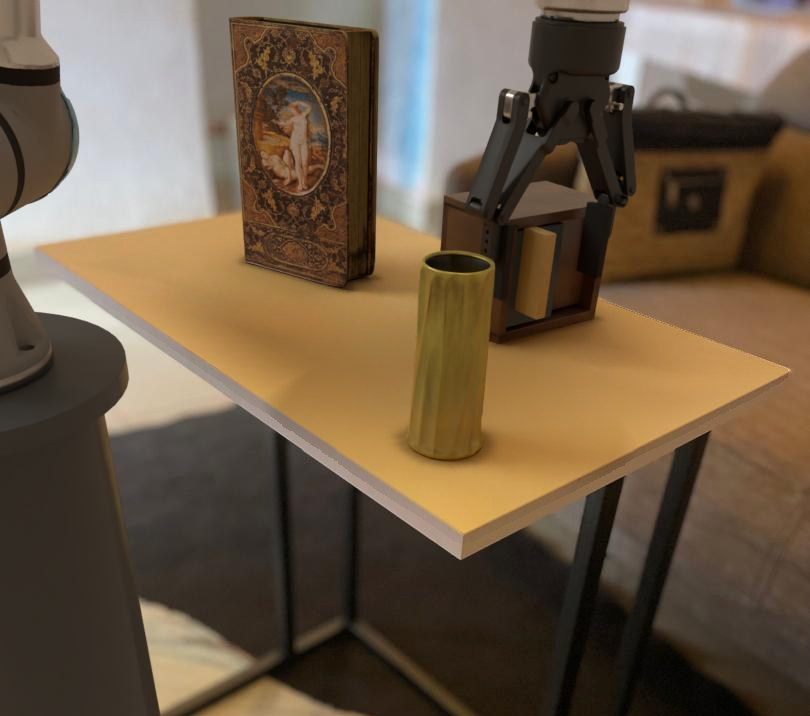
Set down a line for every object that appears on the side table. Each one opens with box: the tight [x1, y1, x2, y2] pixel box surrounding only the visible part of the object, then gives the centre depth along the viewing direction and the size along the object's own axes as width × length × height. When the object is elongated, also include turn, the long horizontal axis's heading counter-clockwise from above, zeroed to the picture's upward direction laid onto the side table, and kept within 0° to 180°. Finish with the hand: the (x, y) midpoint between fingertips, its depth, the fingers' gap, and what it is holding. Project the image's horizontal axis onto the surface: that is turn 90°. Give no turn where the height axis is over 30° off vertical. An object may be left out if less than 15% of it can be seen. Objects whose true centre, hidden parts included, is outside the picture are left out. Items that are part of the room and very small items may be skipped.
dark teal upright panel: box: [506, 222, 564, 328], centre depth 81 cm, size 4×6×10 cm, turn 126°
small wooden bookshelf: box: [439, 180, 609, 344], centre depth 87 cm, size 10×14×12 cm
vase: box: [405, 250, 495, 461], centre depth 62 cm, size 6×6×14 cm
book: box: [228, 16, 380, 288], centre depth 92 cm, size 16×6×25 cm, turn 57°
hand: (543, 284), depth 80 cm, fingers open, 12 cm apart
